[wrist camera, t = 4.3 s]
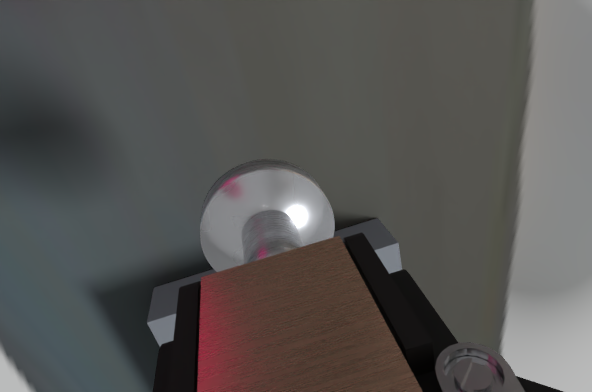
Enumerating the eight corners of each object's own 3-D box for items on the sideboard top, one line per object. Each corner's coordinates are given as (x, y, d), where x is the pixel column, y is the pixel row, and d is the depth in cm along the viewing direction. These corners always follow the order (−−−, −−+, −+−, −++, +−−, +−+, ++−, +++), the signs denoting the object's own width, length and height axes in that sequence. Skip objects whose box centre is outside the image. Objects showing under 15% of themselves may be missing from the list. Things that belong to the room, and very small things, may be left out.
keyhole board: (153, 287, 25) (146, 322, 22) (377, 218, 26) (398, 242, 23) (232, 446, 33) (235, 488, 30) (404, 387, 34) (422, 421, 31)
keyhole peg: (182, 180, 14) (116, 592, 4) (313, 143, 14) (525, 451, 5) (223, 283, 16) (242, 704, 7) (336, 249, 17) (510, 604, 7)
